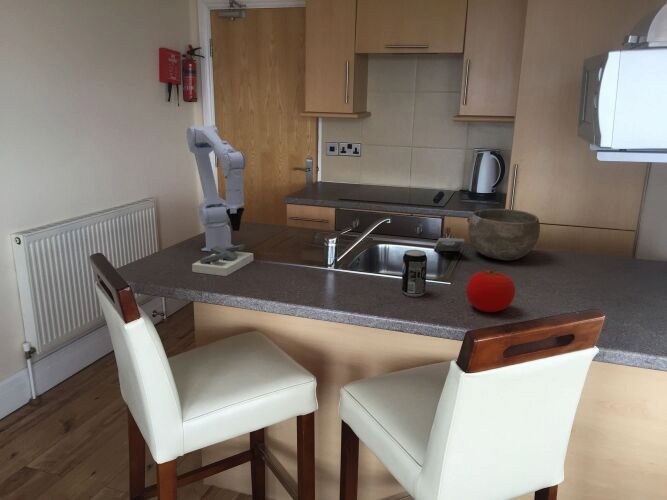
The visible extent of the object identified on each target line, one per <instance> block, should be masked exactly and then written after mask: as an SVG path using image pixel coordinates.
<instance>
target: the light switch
mask: <svg viewBox="0 0 667 500" xmlns="http://www.w3.org/2000/svg"><path fill="white" fill-rule="evenodd" d="M464 243H465V238H454V237H439V238H438V239H437V241H436V244H435V245H434V247H433V251H434V252H435V251H436V252H440V251H441V252H459V250H461V249H460V248H462V246H463V245H464Z"/></svg>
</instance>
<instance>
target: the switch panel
mask: <svg viewBox="0 0 667 500" xmlns="http://www.w3.org/2000/svg"><path fill="white" fill-rule="evenodd" d="M232 253H234V254H237V255H238V257H237V259H235V260H233V261H230V260H227V259H225V258H223V259H219V260H214V261H210V262H205V263H201V262H200V260H201V259H199V260H198V261H196V262H193V263H192V264H191V267H192V269H191V271H192V273H199V274H206V275H214V276H215V275H216V276H223V277H227V276H229V275H231V274H232V273H235V272H236V271H238V270H240V269H241V268H243V267H245V266H247V265H248V264H251V263H252V262H254V253H253V252H245V251H233V252H232ZM212 255H216V254H214V253H212V254H210V255H209V256H212Z"/></svg>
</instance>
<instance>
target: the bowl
mask: <svg viewBox="0 0 667 500" xmlns="http://www.w3.org/2000/svg"><path fill="white" fill-rule="evenodd" d="M466 222H467V223H468V226H467V228H468V229H467V231H468V239H469V242H470V243H471V245H472V247H473V248H474V249H475V250H476V251H477V252H478V253H480V254H481V255H483V256H485V257H487V258H490V259H495V260H499V261H506V262H507V261H515V260H519V259H520V258H523V257H524V256H526V255H527V254H529V253H530V252H531V251H532V250H533V249H534V248H535V246H536V245H537V244H538V243H537V242H538V241H539V237H540V232H541V231H540V230H541V224H540V219H539V218H538V216H537V215H535V214H534V213H531V212H527V211H523V210H518V209H510V208H486V209H481V210H476V211H474V212H472V213H471V215H470V216H468V217H467V219H466Z"/></svg>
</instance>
